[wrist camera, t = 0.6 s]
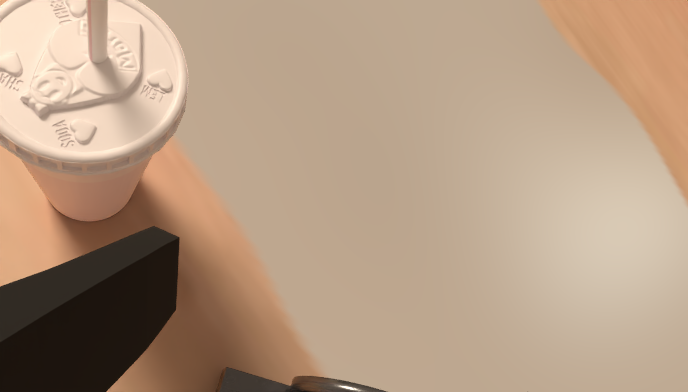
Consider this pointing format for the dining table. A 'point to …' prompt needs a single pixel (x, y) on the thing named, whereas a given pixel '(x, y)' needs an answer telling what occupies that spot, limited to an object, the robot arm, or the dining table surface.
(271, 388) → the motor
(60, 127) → the smoothie
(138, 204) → the dining table surface
